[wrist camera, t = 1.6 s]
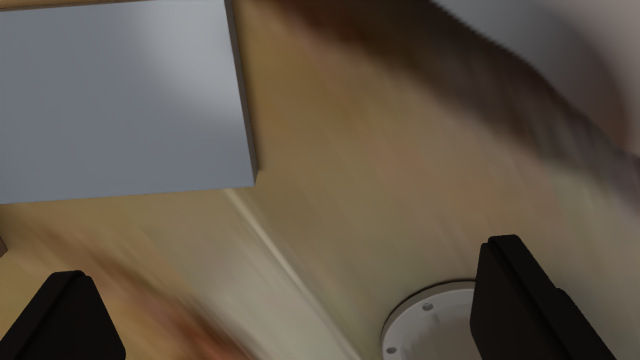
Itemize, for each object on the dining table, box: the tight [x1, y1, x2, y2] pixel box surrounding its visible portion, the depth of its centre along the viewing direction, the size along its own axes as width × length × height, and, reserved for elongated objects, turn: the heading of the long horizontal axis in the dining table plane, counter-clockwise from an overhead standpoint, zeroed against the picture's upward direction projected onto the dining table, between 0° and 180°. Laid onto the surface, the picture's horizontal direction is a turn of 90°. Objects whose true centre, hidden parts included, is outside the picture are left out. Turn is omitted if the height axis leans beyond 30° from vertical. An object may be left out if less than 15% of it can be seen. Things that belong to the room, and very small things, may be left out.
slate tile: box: [0, 0, 258, 204], centre depth 25 cm, size 18×11×2 cm, turn 94°
